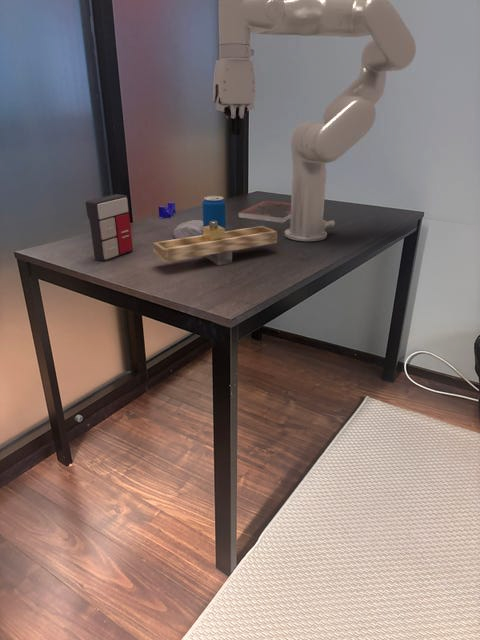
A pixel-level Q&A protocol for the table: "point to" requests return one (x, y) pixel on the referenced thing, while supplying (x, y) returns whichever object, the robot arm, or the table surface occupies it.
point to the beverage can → (214, 210)
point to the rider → (213, 232)
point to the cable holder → (169, 211)
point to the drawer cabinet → (109, 226)
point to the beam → (214, 245)
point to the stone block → (189, 229)
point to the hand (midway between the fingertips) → (235, 134)
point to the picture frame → (268, 211)
